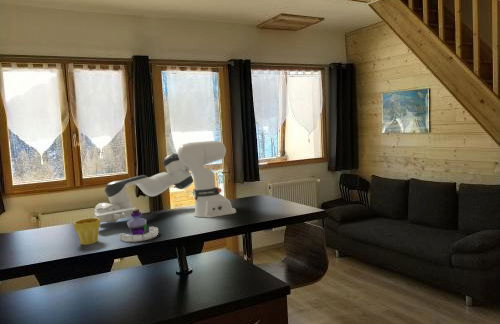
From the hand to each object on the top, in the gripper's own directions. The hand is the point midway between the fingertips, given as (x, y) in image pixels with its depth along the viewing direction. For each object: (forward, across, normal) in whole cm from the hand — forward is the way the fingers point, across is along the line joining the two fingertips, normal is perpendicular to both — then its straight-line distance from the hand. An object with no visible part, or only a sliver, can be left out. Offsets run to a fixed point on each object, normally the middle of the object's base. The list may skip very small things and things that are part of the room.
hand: (122, 216), depth 192 cm
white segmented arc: (+21, 0, -7) cm, 22 cm away
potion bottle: (+16, 0, -7) cm, 18 cm away
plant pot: (+8, +19, -7) cm, 21 cm away
